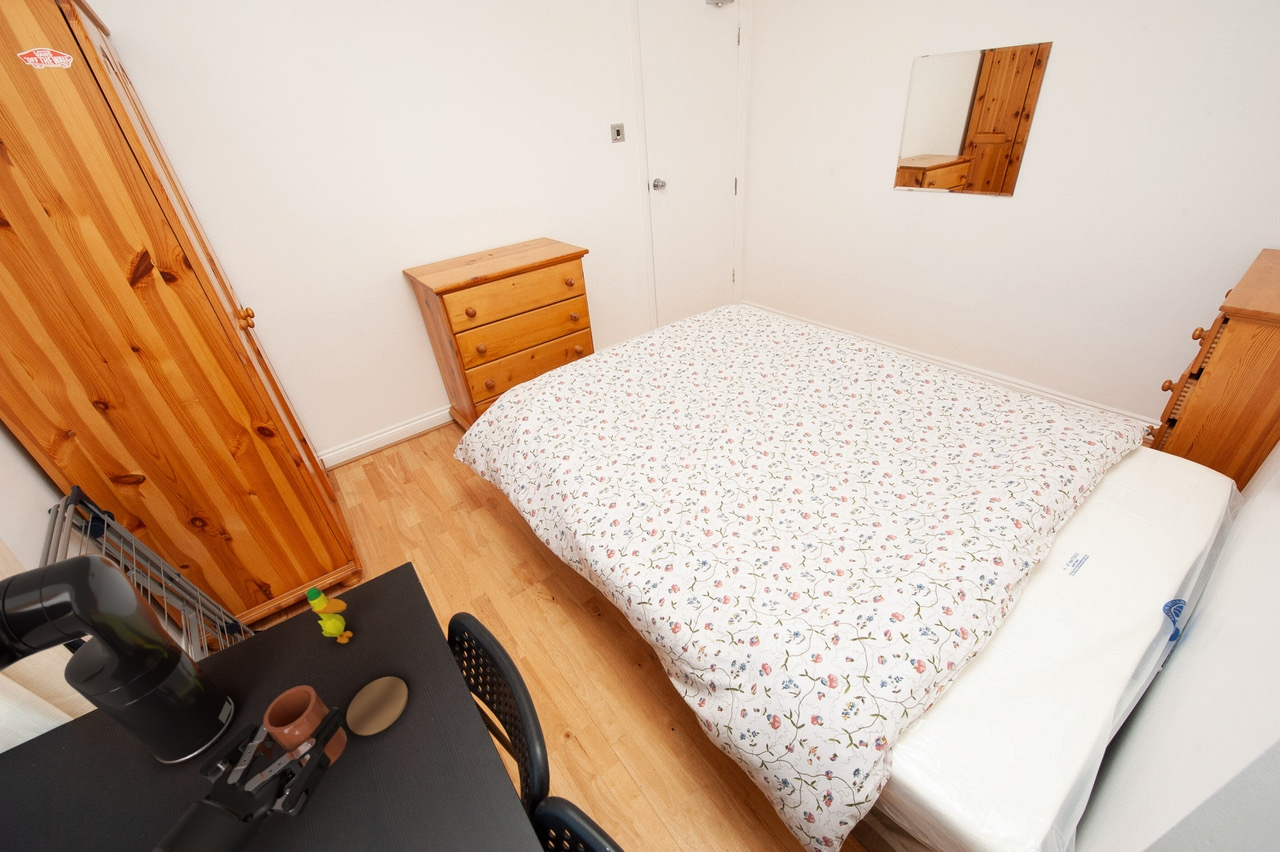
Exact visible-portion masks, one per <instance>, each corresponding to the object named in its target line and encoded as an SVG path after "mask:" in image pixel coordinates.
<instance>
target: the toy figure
mask: <svg viewBox="0 0 1280 852" xmlns="http://www.w3.org/2000/svg"><path fill="white" fill-rule="evenodd" d="M305 595H306V596H307V601H308V603H309V604H310V605H311V607H312V608H311V611H312V612H314V613H316V614H317V615H318V616H319V617H320V618H321V620H317V622H318V624H319V625H320V626H321V629H322V630H323V631H321V634H323V636H324V637H327V638H329V637H333V638H334V637H336V638H337V640H336V642H337V643H340V644H346V643H348V642H349V641H350V638H352V637H353V636H354V633H353V632H352V631H350V630H346V631H344V630H345V626H346V621H345V618H344V616H342V615H340V614H339V613H343V612H344V611H345V610H346V609H347V605H348V604H347V603H345V601H343V600H341V599H338V598H332V597H331V598H329V597H326V595H325V593H323V590H321V589H318V588H317V587H316V586H313V587H311V588H309V589H308V590H306V592H305Z"/></svg>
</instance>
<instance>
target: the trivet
mask: <svg viewBox="0 0 1280 852" xmlns="http://www.w3.org/2000/svg"><path fill="white" fill-rule="evenodd" d="M408 699H409V689H408V686H407V685H406V683H405V681H404V680H402V679H401V678H399V677H397V676H383V677H379V678H377V679H375V680H373V681H371V682H369V683H368V684H367V685H365V686H364V687H362V689H360V691H359V692H357V693H356V694H355V696H354V697H353V699H352V700H351V702H350V703H349V706H348V708H347V712H346V716H345V717H346V718H345V720H346V724H347V726H348V728H349V730H351V732H352V733H354V734H356V735H358V736H372V735H375V734H378V733H380V732H382V731H385V730H386V729H388V727H390V726H391V725H392V724H394V723H395V722H396V721H397V719H399V718H400V716H401V715H402V713H403V711H404V710H405V708H406V706H407V703H408Z"/></svg>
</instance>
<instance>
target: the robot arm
mask: <svg viewBox="0 0 1280 852" xmlns="http://www.w3.org/2000/svg"><path fill="white" fill-rule="evenodd" d="M87 636H91V637H90V638H89V639H88V640H87V641H86V642H84V643H83V644H82V645H81V646H80V647H79V648H78V649H77V650H76V651H75V652H74V653H73V655H71V657H70V659H69V661H68V662H67V664H66V665H65V668H64V673H63V674H64V679H65V682H66V684H68V685H69V686H70V687H71V689H73V690H74V691H76V692H77V693H78V694H79V695H80V696H82V697H83V698H84V699H85V700H87V701H88V702H89V703H90V704H92V706H94V707H96V709H98V710H99V711H100V712H102V713H103V714H104V715H105V716H106V717H108V718H109V719H110V720H111V721H112V722H113V723H115V724H116V725H117V726H118V727H119V728H121V729H122V730H123V731H124V732H125V733H126V734H128V735H129V736H130V737H132V738H133V739H134V740H135V741H136V742H138V744H139V745H141V746H142V747H143V748H145V750H147V751H148V752H149V753H150V754H151V755H153V756H154V758H155V759H156V760H157V761H159V762H160V763H161V764H163V765H166V766H177V765H182V764H184V763H187V762H190V761H192V760H194V759H196V758H197V757H199V756H200V755H202V754H204V753H205V752H207V751H208V750H209V749H211V748H212V747H213V746H214V745H215V744H217V743H218V741H219V740H221V738H222V737H223V736H224V735H225V734H226V733H227V731H228V730H229V728H230V727H231V725H232V723H233V721H234V719H235V715H236V704H235V702H234V701H233V700H232V699H231V698H230V696H227V694H225V693H224V691H223V690H222V689H221V688H220V687H219V686H218V685H217V683H216V682H214V681H213V679H212V678H211V677H210V676H209V675H208V674H207V673H206V672H205V671H204V669H202V667H200V666H199V664H198V663H197V662H196V661H195V660H194V659H193V658H192V657H191V656H190V655H189V654H188V653H187V651H186V650H185V649H184V648H183V647H182V646H181V645H180V644H179V643H178V642H177V641H176V640H175V638H174V637H172V636H171V634H170V633H169V632H168V631H167V630H166V629H165V627H164V626H163V625H162V623H161V621H160V619H159V617H158V614H157V613H156V611H155V609H154V608H153V607H152V605H151V604H150V603H149V601H148V600H147V599H146V598H145V597H144V596H143V594H142V593H141V592H140V591H139V589H138V587H136V585H135V584H134V582H133V581H132V580H131V579H130V577H129V576H128V575H127V574H126V572H125V571H124V570H123V569H122V568H121V566H119V565H118V563H116V562H115V561H114V560H112V559H111V558H109V557H107V556H106V555H103V554H100V553H95V552H94V553H93V552H92V553H90V552H89V553H83V554H81V555H75V556H73V557H70V558H66V559H62V560H59V561H56V562H52V563H49V564H46V565H43V566H40V567H36V568H33V569H29V570H25V571H22V572H19V573H17V574H14V575H11V576H8V577H5V578H3V579H1V580H0V673H2V672H4V671H5V670H6V669H7V668H9V667H11V666H13V665H15V664H17V663H19V662H20V661H22V660H24V659H26V658H29V657H31V656H34V655H36V654H38V653H42V652H45V651H47V650H50V649H53V648H56V647H60V646H62V645H64V644H67V643H71V642H74V641H76V640H79V639H81V638H84V637H87ZM344 718H345V714H344V711H342V710H341V709H340V708H339V707H336V706H333V707H332V708H331V709H329V712H328V714H327V715H326V716H325V717H324V719H323V720H322V721H321V723H320V724H319V725H318V726H317V728H316V729H315V730H314V731H313V732H312V734H311V735H310V737H311V738H310V739H308V740H307V741H306V742H305V743H303V744H302V745H301V746H300V747H298V748H297V749H296V750H295V751H293V752H289V753H287V752H286V753H285V754H284V755H283V756H281V757H280V758H278V759H272V758H273V756H274V755H273V753H274V752H273V751H274V748H275V746H276V744H277V743H278V742H277V741H276V740H275V739H274V738H273V736H272V735H271V734H270V733H269V732H268V731H267V730H266V728H265V726H264V724H263V723H262V724H259V725H258V724H256V723H255V722H252V723H249V724H248V725H246V726H245V727H244V728H243V729H242V730H241V731H240V732H239V733H237V734H236V735H235V736H234V737H233V738H231V740H230V741H228V742H227V743H226V744H225V745H224V746H223V747H222V748H221V749H220V750H218V751H217V752H216V753H215V754H213V756H212V757H211V758H210V759H209V760H208V761H206V762H205V763H204V764H203V765H201V767H200V769H199V774H200V775H201V776H202V777H203V778H205V780H207V781H208V782H209V783H211V787H210V789H209V790H208V792H207V794H206V796H204V798H198V799H197V800H195V801H194V802H192V804H191V805H190V806H188V808H187V809H186V811H184V813H183V814H181V816H180V817H179V819H177V821H176V822H175V823H174V824H173V825H172V826H171V828H170V829H168V830H167V831H166V833H165V834H164V835H163V836H162V837H161V838H160V840H159V841H158V842H157V843H156V844H155V845H154V846H153V848H152V849H150V851H149V852H248V850H249V849H250V847H251V846H252V845H253V843H254V842H255V841H256V840H257V837H258V834H259V831H260V829H261V827H262V826H263V824H265V822H267V821H268V820H269V819H270V818H272V817H273V816H274V815H275V814H276V813H278V814H287V815H288V816H289V817H290V818H292V819H298V818H300V817H301V816H302V815H303V813H304V811H305V809H306V808H307V806H308V804H309V802H310V801H311V798H312V797H313V795H314V794H315V792H316V790H317V788H318V787H319V784H320V783H321V781H322V779H323V778H324V776H325V774H326V772H327V771H328V768H329V767H330V766H331V765H330V763H331V759H330V758H329V757H328V755H327V754H326V753H325V746H326V745H327V743H328V742H329V741H330V740H331V738H332V737H333V736H334V734H335V733H336V732H337V730H338V729H339V728H340V726H341V727H342V725H343V723H344ZM307 753H308V754H307ZM306 754H307V755H306ZM305 755H306V756H305ZM301 758H302V759H301ZM300 759H301V760H300ZM329 765H330V766H329ZM288 769H290V771H288ZM291 785H292V786H291ZM290 786H291V788H289V787H290Z"/></svg>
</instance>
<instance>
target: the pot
mask: <svg viewBox="0 0 1280 852" xmlns="http://www.w3.org/2000/svg"><path fill="white" fill-rule="evenodd" d="M329 711H330V709H329V708H328V706H327V705H326V703H325V702H324V701H323V700H322V698H321V697H320V696H319V694H318V693H317V692H316V690H315V689H314V688H313V686H310V685H307V684H303V685H297V686H294V687H292V688H290V689H287V690H285V691H284V692H283V693H281V694H280V695H278V696H277V697H276V698H275V699H274V700H273V701H272V702H271V704H269V706H268V707H267V709H266V711H265V713H264V715H263V721H262V725H263V724H264V726H265V728H266V730H267V731H268V732H269V733H270V734H271V735H272V736H273V738H274V739H275V740H276V741H277V742H276V743H277V744H279V745H280V747H281V748H282V749H283V750H284V751H285V752H286V753H289V752H293V751H295V750H296V749H297V748H298V747H300V746H301V745H302V744H303V743H305V742H306V741H307V740H308V739H310V738H311V737H310V735H311V734H312V732H313V731H314V730H315V729H316V728H317V726H318V725H319V724H320V723H321V721H322V720H323V719H324V717H325V716H326V715H327V714H328V712H329ZM347 738H348V737H347V733H346V730H344V728H343V727H342V725H341V726H340V728H339V729H338V730H337V732H336V733H335V734H334V736H333V737H332V738H331V740H330V741H329V742H328V743H327V745H326V746H325V753H326V754H327V755H328V757H329V758H330V759H331V763H330V765H329V767H330V766H331V765H333V764H334V763H335V762H336V761H337V760H338V759H339V757H340V756H341V755H342V754H343V752H344V750H345V748H346V746H347V740H348V739H347ZM307 754H308V753H307ZM307 754H306V755H307ZM306 755H305V756H306ZM301 759H302V758H301ZM301 759H300V760H301Z"/></svg>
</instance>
